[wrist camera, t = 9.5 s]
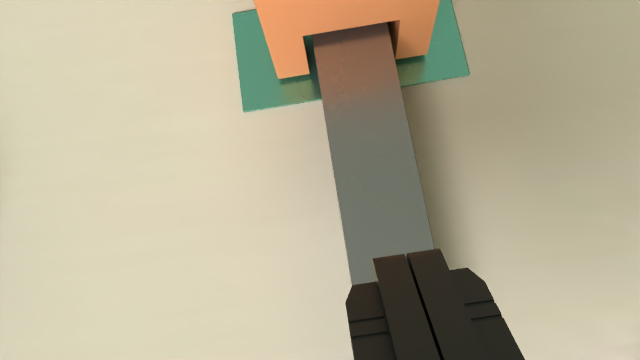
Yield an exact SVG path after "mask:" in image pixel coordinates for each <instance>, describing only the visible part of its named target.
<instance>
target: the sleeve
mask: <svg viewBox="0 0 640 360" xmlns="http://www.w3.org/2000/svg"><path fill="white" fill-rule="evenodd" d="M439 2H440V0H254V3H255V7H256V10H257V13H258V16H259V19H260V23H261V26H262V29H263V32H264V35H265V39H266V42H267V45H268V48H269V51H270V55H271V58H272V61H273V64H274V67H275V71H276V74H277V77H278V79H282V78H288V77H294V76H300V75H306V74H310V73H309V67H308V60H307V54H306V48H305V41H304V36H306V35H312V34H318V33H324V32H330V31H336V30H342V29H348V28H354V27H360V26H366V25H372V24H377V23H383V22H388V27H389V31H390V36H391V41H392V46H393V51H394V55H395V60H396V59H402V58H408V57H414V56H420V55H426V54H427V53H428V49H429V44H430V40H431V36H432V32H433V27H434V23H435V19H436V15H437V10H438V6H439Z"/></svg>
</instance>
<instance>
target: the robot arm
mask: <svg viewBox="0 0 640 360" xmlns="http://www.w3.org/2000/svg"><path fill="white" fill-rule="evenodd" d="M372 269H373V278H374V282H370V283H363V284H356V285H352V288H351V290H350V293H349V295H348V298H347V300H346V309H347V316H348V323H349V329H350V336H351V343H352V349H353V356H354V360H525V359H524V357H523V355H522V353H521V351H520V349H519V347H518V345H517V344H516V342H515V340H514V338H513V336H512V334H511V332H510V330H509V328H508V326H507V324H506V322H505V320H504V318H502V315H501V312H500V310H499V309H498V307H497V305H496V303H494V299H493V297H492V295H491V293H490V291H489V289H488V287H487V285H486V283H485V282H484V281H483V280H482V279H481V278H479V277H478V276H477V275H476V274H475V273H473V272H472V271H471V270H470V269H468V268H462V269H456V270H449V268H448V266H447V264H446V262H445V259H444V257H443V255H442V252H441V251H440V249H431V250H425V251H418V252H411V253H406V256H405V255H404V254H399V255H392V256H386V257H379V258H372Z"/></svg>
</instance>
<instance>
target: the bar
mask: <svg viewBox="0 0 640 360" xmlns="http://www.w3.org/2000/svg"><path fill="white" fill-rule="evenodd" d="M232 17H233V26H234V34H235V43H236V52H237V61H238V69H239V78H240V87H241V96H242V104H243V112H249V111H255V110H261V109H267V108H273V107H279V106H285V105H291V104H298V103H304V102H310V101H316V100H322V102H323V108H324V115H325V121H326V127H327V133H328V139H329V146H330V152H331V158H332V164H333V170H334V177H335V183H336V189H337V195H338V201H339V208H340V214H341V220H342V226H343V232H344V239H345V245H346V251H347V257H348V263H349V270H350V276H351V282H352V285H356V284H363V283H370V282H374V278H373V269H372V258H379V257H386V256H392V255H399V254H404V255H405V256H406V253H411V252H418V251H425V250H431V249H434V244H433V240H432V235H431V230H430V225H429V220H428V216H427V211H426V206H425V201H424V197H423V192H422V187H421V182H420V177H419V173H418V168H417V163H416V158H415V153H414V149H413V144H412V139H411V134H410V130H409V125H408V120H407V115H406V110H405V106H404V101H403V96H402V91H401V86H407V85H413V84H419V83H425V82H431V81H437V80H443V79H450V78H456V77H462V76H468V75H469V70H468V66H467V62H466V58H465V54H464V50H463V47H462V43H461V39H460V35H459V31H458V27H457V23H456V19H455V15H454V11H453V7H452V3H451V0H440V2H439V6H438V10H437V15H436V19H435V23H434V27H433V32H432V36H431V40H430V44H429V49H428V53H427V54H426V55H420V56H414V57H408V58H402V59H396V60H395V55H394V51H393V46H392V41H391V36H390V31H389V27H388V22H383V23H377V24H372V25H366V26H360V27H354V28H348V29H342V30H336V31H330V32H324V33H318V34H312V35H306V36H304V41H305V48H306V54H307V60H308V67H309V73H310V74H306V75H300V76H294V77H288V78H282V79H278V77H277V74H276V71H275V67H274V64H273V61H272V58H271V55H270V51H269V48H268V45H267V42H266V39H265V35H264V32H263V29H262V26H261V23H260V19H259V16H258V13H257V10H252V11H246V12H240V13H234V14H232Z"/></svg>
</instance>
